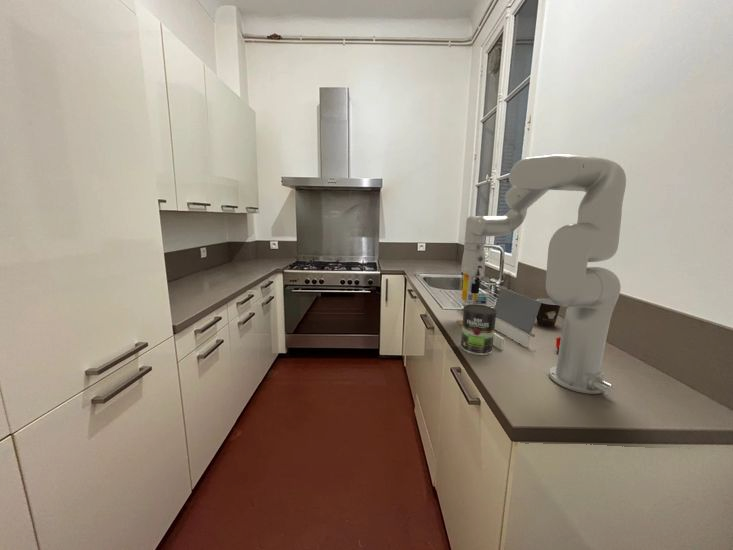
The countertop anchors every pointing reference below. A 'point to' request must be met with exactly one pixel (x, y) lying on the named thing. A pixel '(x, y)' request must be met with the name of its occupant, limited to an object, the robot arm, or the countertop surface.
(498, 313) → the cover
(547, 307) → the coffee mug
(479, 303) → the light bulb box
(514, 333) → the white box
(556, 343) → the apple
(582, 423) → the countertop surface
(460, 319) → the coaster
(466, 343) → the coffee can
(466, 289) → the beer can
